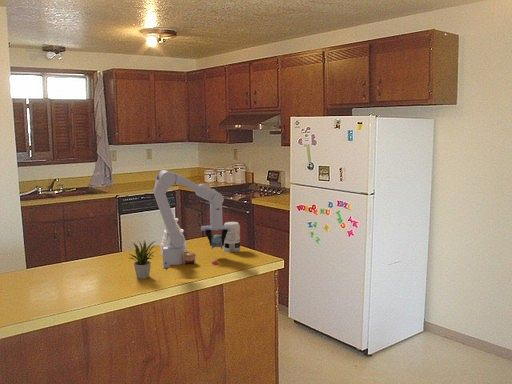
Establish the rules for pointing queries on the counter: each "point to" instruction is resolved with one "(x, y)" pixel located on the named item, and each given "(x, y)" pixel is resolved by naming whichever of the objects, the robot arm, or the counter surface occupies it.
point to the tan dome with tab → (189, 258)
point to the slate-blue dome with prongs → (216, 241)
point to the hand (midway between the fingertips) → (217, 245)
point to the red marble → (214, 262)
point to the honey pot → (165, 241)
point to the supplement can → (232, 238)
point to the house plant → (142, 260)
